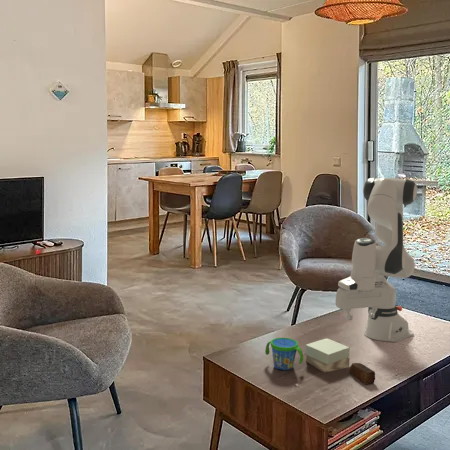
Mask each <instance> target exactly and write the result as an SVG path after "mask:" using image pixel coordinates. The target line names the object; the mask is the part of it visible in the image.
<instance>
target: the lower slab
mask: <svg viewBox="0 0 450 450" xmlns="http://www.w3.org/2000/svg"><path fill="white" fill-rule="evenodd" d="M305 362H307V364H310V365H311V366H313V367H314V368H316V369H318V370H319V371H321V372H322V373H329V372H334V371H337V370H342V369H346V368H350V357H348V358H345V359H342V360H339V361H337V362H334V363H331V364H326V363H324V362H321V361H319V360H317V359H315V358H313V357H310V356H308V355H306V354H305Z"/></svg>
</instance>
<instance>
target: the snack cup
mask: <svg viewBox="0 0 450 450" xmlns="http://www.w3.org/2000/svg"><path fill="white" fill-rule="evenodd" d="M270 347H271V351H272V361H273V366H274V368H275V369H278V370H282V371H284V372H285V371H289V370H292V369H293V367H294V365H295V361H296V355H297V352H298V355H299V361H298V362H299V363H298V364H299V365H301V364H302V363H303V361H304V354H303V350H302V348H301V347H300V346H299V342H298V341H297V340H295V339H293V338H289V337H276V338H273V339H272V340H269V341H268V342H267V343H266V345H265V355H267V356H269V354H270V353H271V351H270Z"/></svg>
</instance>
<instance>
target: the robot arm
mask: <svg viewBox="0 0 450 450" xmlns="http://www.w3.org/2000/svg"><path fill="white" fill-rule="evenodd" d="M416 185H417V184H416V183H415V182H414V181H413V180H411V179H402V178H398V177H377V178H376V177H369V178H367V180H365V182H364V184H363V186H362V187H363V188H362V192H363V197H364V200H366V201H367V208H366V209H367V210H366V212H367V214H368V217H369V218H370V219H371V220H372V221H373V222H375V230H374V235H375V237H376V239H377V240H379V241H380V242H381V243H382V244H384V245H377V242H376V240H375V239H372V238H367V237H362V238H357V239H355V241H354V244H353V248H352V254H351V265H352V266H351V267H352V269H351V272H350V276H348V277H345V278H343V279H341V280H339V281H338V282H337V285H338V289H337V291H336V294H335V301H334V302H335V303H334V304H335V306H336V308H338V309H339V310H343V311H344V313H345V315H346V320H347V321H352V320H353V315H352V314H351V313H350V312H351V309H363V308H367V312H368V314H367V322H366V325H365V330H364V335H365V336H366V337H367V338H369V339H373V340H376V341H382V342H389V343H390V342H391V343H397V342H400V341H402V340H406V339H407V338H410V337H414V336H415V333H414V331H412V330H411V329H409V322H408V320H406V319H405V318H404V317H403V316H401V315H400V314H399V312H402V311H403V307H402V306H400V305H396V299H397V298H396V297H397V296H396V295H397V291H396V288H395V287H394V285H393V284H391V283H390V282H389V281H388V280H387V279H386V278H385V276H386V277H391V278H397V279H399V278H400V279H402V278H403V279H404V278H409V277H411V275H413V273H414V272H415V267H416V266H415V265H416V264H415V261H414V260H415V259H414V258H413V257H412V256H411V255H410V254H409V253H408V252H407V250H406V248H405V246H404V223H403V222H404V221H403V220H404V208H406V207H407V206H408V205H411V204H413V203H414V202H415V199H416V197H417V195H418V189H417V186H416ZM398 311H399V312H398Z"/></svg>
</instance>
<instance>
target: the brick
mask: <svg viewBox="0 0 450 450" xmlns="http://www.w3.org/2000/svg"><path fill="white" fill-rule="evenodd" d="M349 373H350V375H352V376H353V377H354V378H356V379H357V380H358V381H360V382H361V383H363V384H364V385H366V386H367V385H368V386H369V385H372V384H374V383H375V380H376V373H375V371H374V370H372V369H371V368H370V367H367V365H364V364H363V363H361V362H360V363H359V362H353V363H351V365H349Z"/></svg>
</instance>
